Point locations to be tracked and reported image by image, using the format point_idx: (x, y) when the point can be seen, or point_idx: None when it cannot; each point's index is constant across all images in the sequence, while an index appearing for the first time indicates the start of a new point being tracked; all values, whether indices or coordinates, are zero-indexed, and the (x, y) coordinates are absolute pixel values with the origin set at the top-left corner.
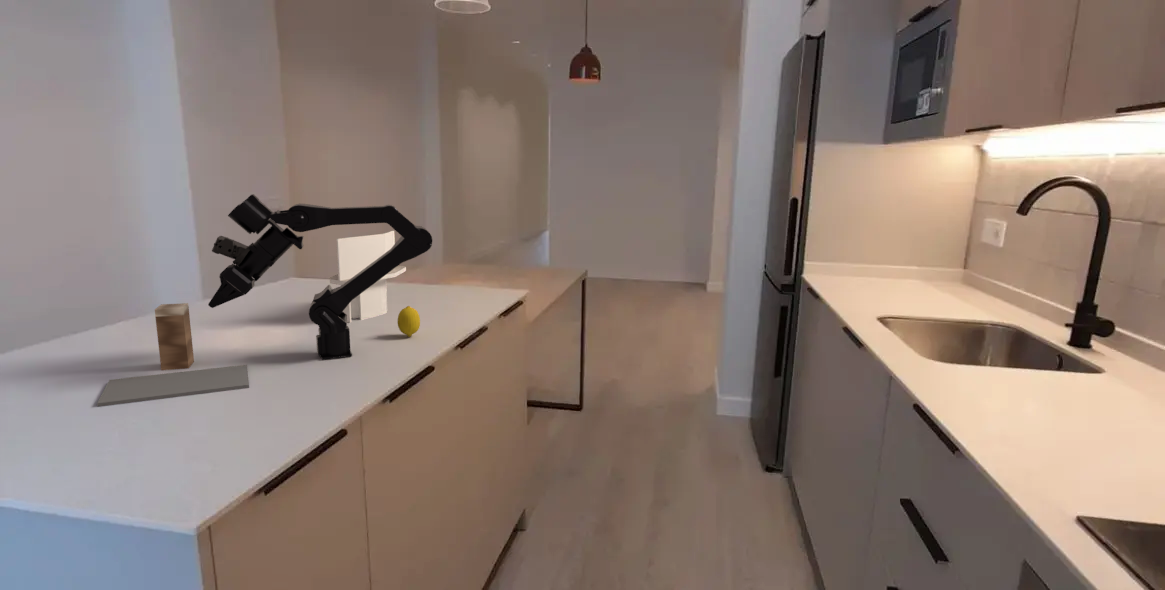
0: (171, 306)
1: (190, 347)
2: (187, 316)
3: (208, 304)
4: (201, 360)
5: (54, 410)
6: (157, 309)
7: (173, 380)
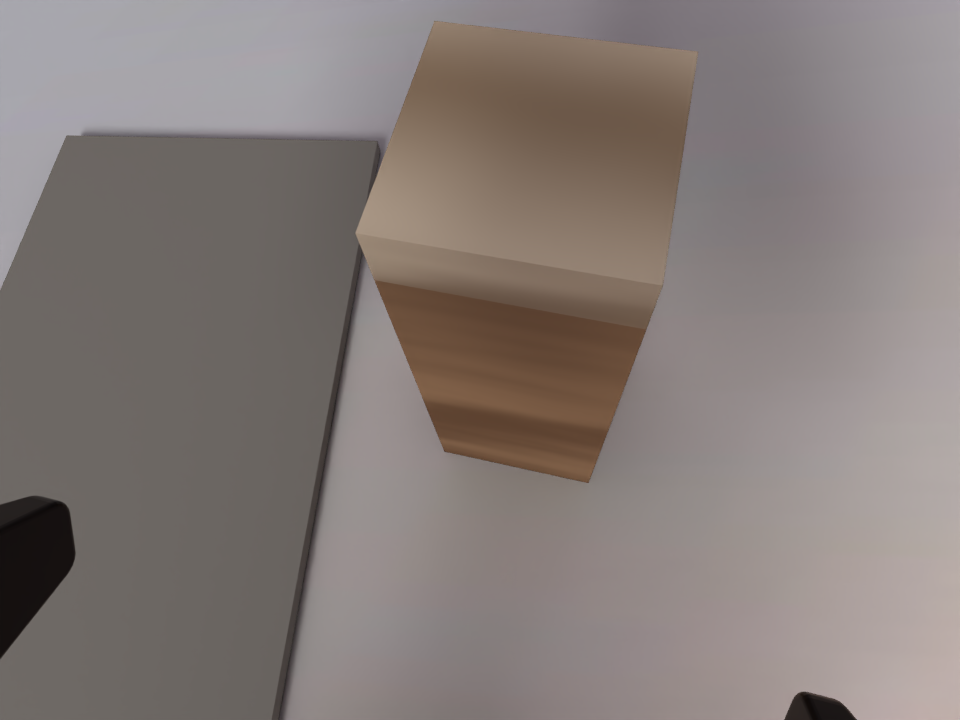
0: (527, 136)
1: (535, 439)
2: (549, 336)
3: (33, 499)
4: (594, 525)
5: (136, 45)
6: (428, 41)
7: (188, 374)
